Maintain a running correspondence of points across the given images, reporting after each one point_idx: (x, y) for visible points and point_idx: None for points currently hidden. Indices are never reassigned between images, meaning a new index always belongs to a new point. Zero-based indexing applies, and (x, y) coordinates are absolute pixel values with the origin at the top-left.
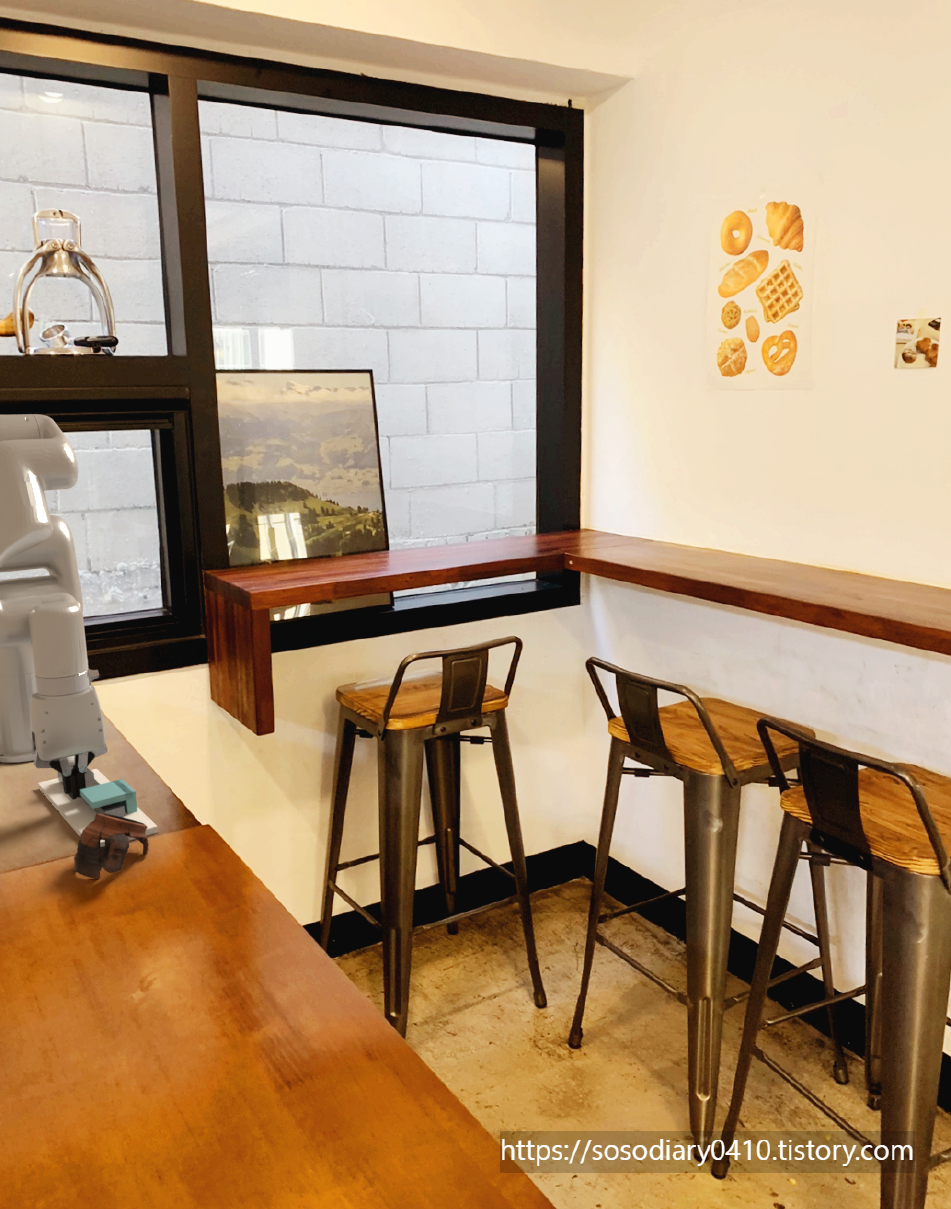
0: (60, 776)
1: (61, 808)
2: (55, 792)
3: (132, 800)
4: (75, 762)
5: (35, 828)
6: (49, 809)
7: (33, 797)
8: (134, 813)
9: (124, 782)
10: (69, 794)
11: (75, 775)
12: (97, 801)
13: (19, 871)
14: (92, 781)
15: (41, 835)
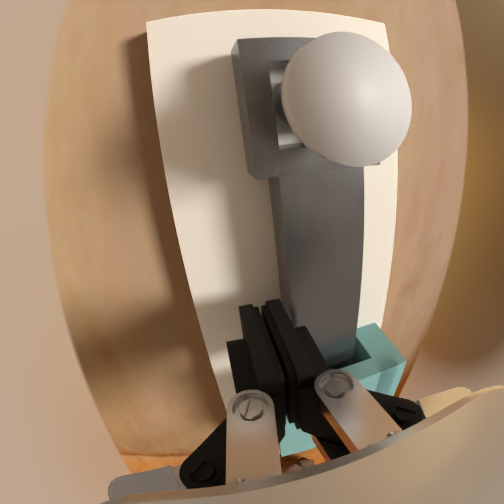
0: (241, 85)
1: (204, 327)
2: (197, 167)
3: None
4: (325, 413)
5: (132, 360)
6: (165, 257)
7: (118, 111)
8: None
9: (395, 383)
10: (242, 330)
11: (288, 415)
12: (294, 453)
13: (133, 458)
14: (349, 256)
15: (151, 393)
